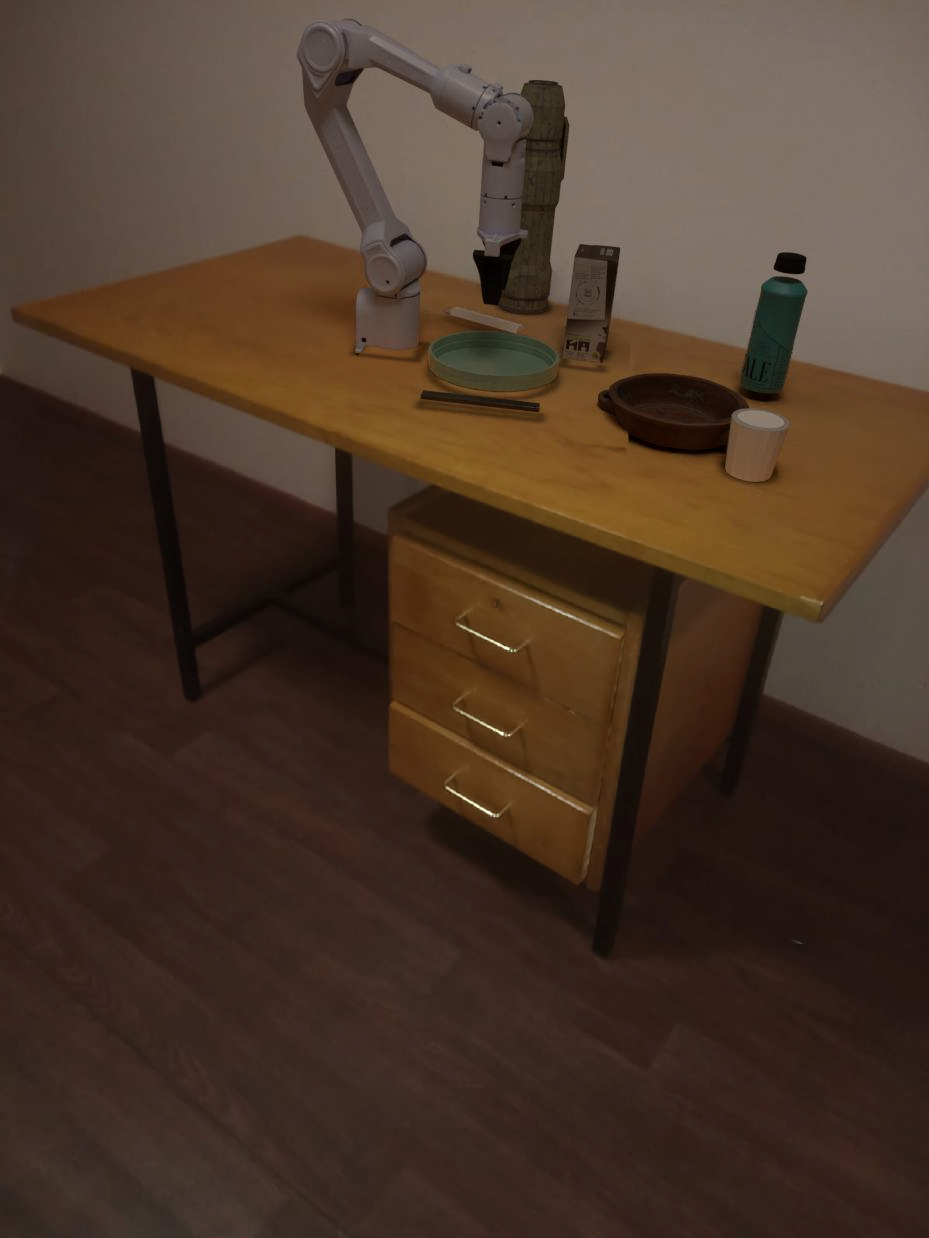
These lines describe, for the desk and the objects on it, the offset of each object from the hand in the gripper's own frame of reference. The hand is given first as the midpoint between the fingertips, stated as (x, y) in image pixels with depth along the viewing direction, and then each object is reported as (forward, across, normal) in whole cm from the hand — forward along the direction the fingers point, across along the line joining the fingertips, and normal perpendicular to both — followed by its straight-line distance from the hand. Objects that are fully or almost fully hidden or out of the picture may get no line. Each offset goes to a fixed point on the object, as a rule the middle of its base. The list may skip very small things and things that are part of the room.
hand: (494, 296), depth 137 cm
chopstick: (+10, -18, -1) cm, 20 cm away
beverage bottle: (+11, 0, -40) cm, 41 cm away
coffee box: (+11, +8, -14) cm, 19 cm away
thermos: (+11, +32, -2) cm, 34 cm away
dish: (+11, -17, -27) cm, 33 cm away
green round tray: (+10, -4, -1) cm, 11 cm away
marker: (+11, +18, +4) cm, 21 cm away
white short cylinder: (+11, -27, -36) cm, 46 cm away
